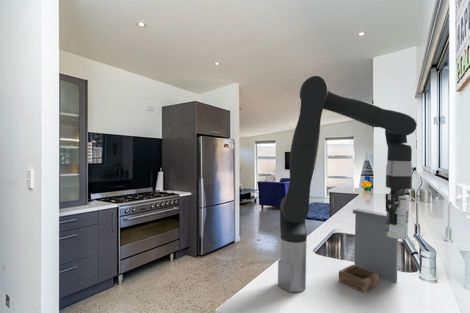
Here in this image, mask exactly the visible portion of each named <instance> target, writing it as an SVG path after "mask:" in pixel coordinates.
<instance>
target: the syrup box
mask: <svg viewBox="0 0 470 313" xmlns="http://www.w3.org/2000/svg"><path fill="white" fill-rule="evenodd" d="M399 200H401V202H400V208H398V212H397V225H392V224H389V213H388V212H387V211H386V214H387V219H386V237H391V238H397V239H398V240H403V241H405V240H406V239H407V237H408V229H409V215H410V214H409V210H410V198H409V195H407V196H405V195H404V196H399V198H398V201H399ZM395 204H398V202H396V201H395Z"/></svg>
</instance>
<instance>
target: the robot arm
mask: <svg viewBox="0 0 470 313" xmlns="http://www.w3.org/2000/svg"><path fill="white" fill-rule="evenodd" d="M299 99H300V110H299V115H298V119H297V124H296V125H295V130H294V132H293V137H292V140H291V146H290V150H289V151H290V152H289V183H288V188H287V192H286V195H285V196H283V197H282V198H281V202H280V206H279V207H280V208H279V210H280V211H279V212H280V214H279V219H280V220H279V228H280V245H279V246H280V248H279V249H280V251H279V253H280V254H279V257H280V258H279V259H278V262H277V263H278V264H277V286H278V287H279V288H281V289H283V290H284V291H286V292H288V293H290V294H292V293H299V292H303V291H305V290H306V286H307V284H306V282H307V281H306V280H307V279H306V278H307V241H308V240H307V237H308V236H307V228H306V219H307V217H308V214H309V212H310V198H311V197H310V196H311V194H310V192H311V184H312V181H313V180H312V179H313V175H314V170H315V167H316V161H317V155H318V150H319V144H320V143H319V142H320V134H321V119H322V114H323V110H325V111H330V112H332V113H336V114H339V115H340V116H341V115H342V116H344V117H347V118H349V119H352V120H354V121H357V122H359V123H362V124H365V125H367V126H370V127H372V128H379V129H384V130H385V131H384V134H385V140H386V142H385V143H386V146H387V155H386V156H387V159H386V160H387V161H386V167H385V168H386V169H385V187H386V188H388V189H390V192H389V193H385V211H386V213H387V212H388V213H389V224H392V225H397V212H398V208H400V202H401V200H399V201H398V198H399V196H404V195H405V196H407V195H409V199H410V195H411V192H410V191H407V190H412V183H413V179H412V178H413V164H412V156H413V155H412V152H413V150H412V146H411V145H410V144H408V139H407V138H408V137H407V136H409V135H411V134H413V133H414V132H415V131H416V129H417V127H418V126H417V122H416V119H414V117H412V116H411V115H409V114H407V113H404V112H400V111H396V110H393V109H387V108H383V107H381V106H378V105H376V104H373V103H371V102H367V101H364V100H361V99H356V98H350V97H345V96H341V95H338V94H336V93H333V92H331V91H329V86H328V83H327V81H326V80H325V79H324V78H323V77H321V76H319V75H313V76H310V77H308V78H307V79H306V80H305V81H303V83H302V85H301V87H300V90H299ZM395 201H396V202H398V204H395Z"/></svg>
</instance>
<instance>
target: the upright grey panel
mask: <svg viewBox="0 0 470 313" xmlns="http://www.w3.org/2000/svg"><path fill="white" fill-rule="evenodd" d="M352 214H355V217H354V218H355V219H354V220H355V224H354V225H355V226H354V227H355V228H354V230H355V231H354V264H353V265H355V266H358V267H360V268H363V269H366V270H369V271H371V272H374V273H377V274H379V278H382V279H385V280H386V281H387V280H388V281H391V282H393V283H397V282H398V263H399V262H398V260H399V259H398V256H399V253H398V251H399V248H398V247H399V239H397V238H391V237H386V219H387V213H383V212H377V211H373V210H372V211H371V210H365V209H359V208H356V209H352Z"/></svg>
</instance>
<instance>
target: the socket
mask: <svg viewBox="0 0 470 313" xmlns="http://www.w3.org/2000/svg"><path fill="white" fill-rule="evenodd" d="M379 278H380V277H379V274H377V273H374V272H371V271H369V270H366V269H363V268H360V267H358V266H355V265H354V264H351V265H349V266H346V267H345V268H342V269H340V270H338V282H339V283H341V284H343V285H345V286H348V287H350V288H352V289H355V290H357V291H360V292H362V293H364V294H367V292H369V291H371V290H372V289H374V288H375V287H378V286H379Z"/></svg>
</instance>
